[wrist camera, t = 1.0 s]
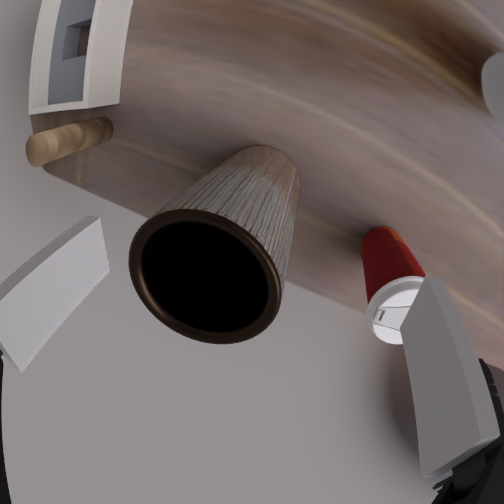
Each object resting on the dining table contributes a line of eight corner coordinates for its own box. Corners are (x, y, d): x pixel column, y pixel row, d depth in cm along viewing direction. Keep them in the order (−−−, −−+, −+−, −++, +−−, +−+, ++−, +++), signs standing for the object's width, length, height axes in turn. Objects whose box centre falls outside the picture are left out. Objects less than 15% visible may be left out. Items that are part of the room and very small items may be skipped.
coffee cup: (347, 266, 40) (356, 344, 27) (360, 213, 36) (383, 279, 23) (399, 275, 39) (424, 350, 26) (416, 225, 34) (458, 290, 22)
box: (73, -6, 24) (45, -11, 18) (139, -27, 22) (112, -40, 16) (58, 108, 35) (28, 115, 29) (119, 103, 34) (87, 108, 28)
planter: (232, 135, 34) (127, 190, 15) (310, 157, 33) (306, 243, 14) (217, 206, 39) (129, 316, 20) (287, 227, 39) (257, 362, 19)
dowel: (94, 117, 35) (25, 135, 23) (113, 116, 35) (42, 134, 23) (94, 141, 37) (27, 166, 25) (112, 142, 37) (44, 167, 25)
